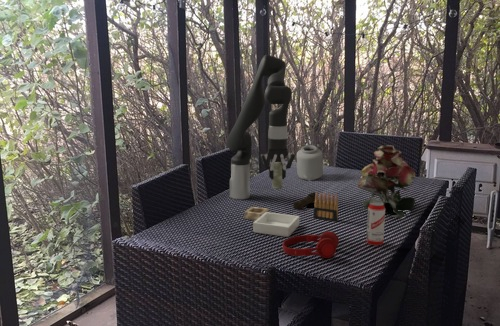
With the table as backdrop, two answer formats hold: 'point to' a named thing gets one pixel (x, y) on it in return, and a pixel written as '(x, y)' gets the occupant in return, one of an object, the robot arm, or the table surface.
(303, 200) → the hand tool
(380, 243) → the beer can
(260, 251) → the table surface
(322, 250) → the headphones
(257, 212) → the holder
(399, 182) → the rose bouquet
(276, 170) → the dowel
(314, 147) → the jar
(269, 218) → the tray
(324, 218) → the ammunition clip
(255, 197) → the table surface
